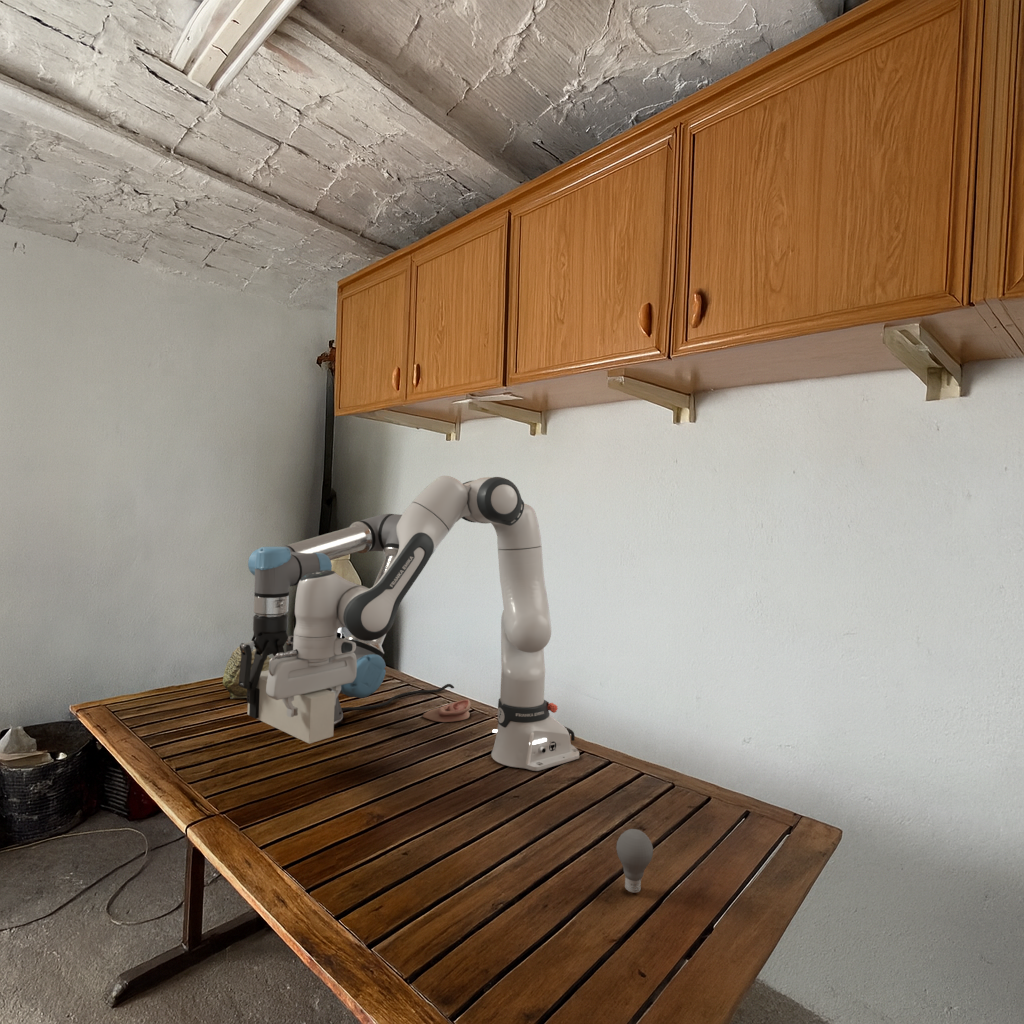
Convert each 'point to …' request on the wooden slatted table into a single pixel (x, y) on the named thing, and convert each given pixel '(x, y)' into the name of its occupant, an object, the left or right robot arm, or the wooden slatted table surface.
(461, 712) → the anatomical model
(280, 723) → the bar
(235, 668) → the fossil
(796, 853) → the wooden slatted table surface
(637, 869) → the light bulb
